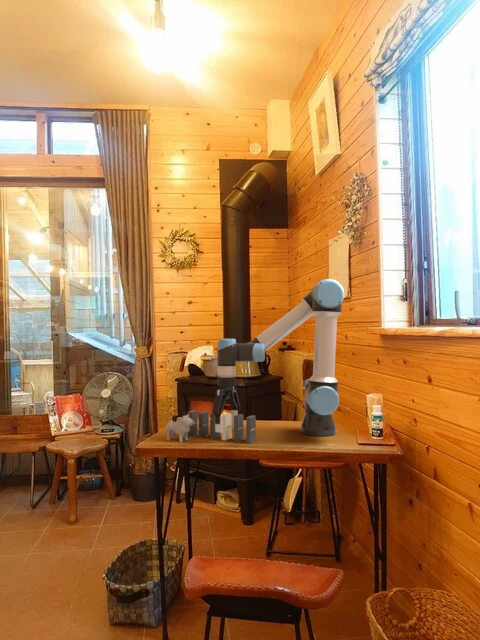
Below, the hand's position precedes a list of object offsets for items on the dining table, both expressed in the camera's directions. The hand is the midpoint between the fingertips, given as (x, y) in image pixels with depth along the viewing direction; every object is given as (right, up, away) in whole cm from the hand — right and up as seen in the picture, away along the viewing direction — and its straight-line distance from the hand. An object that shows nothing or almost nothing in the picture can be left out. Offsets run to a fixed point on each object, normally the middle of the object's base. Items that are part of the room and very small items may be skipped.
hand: (226, 429), depth 184 cm
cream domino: (0, -4, 0) cm, 4 cm away
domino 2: (-10, -4, +5) cm, 12 cm away
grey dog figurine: (-19, -4, -2) cm, 19 cm away
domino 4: (+5, -4, -3) cm, 7 cm away
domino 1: (-15, -4, +7) cm, 17 cm away
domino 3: (-5, -4, +2) cm, 7 cm away
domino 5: (+10, -4, -5) cm, 12 cm away
